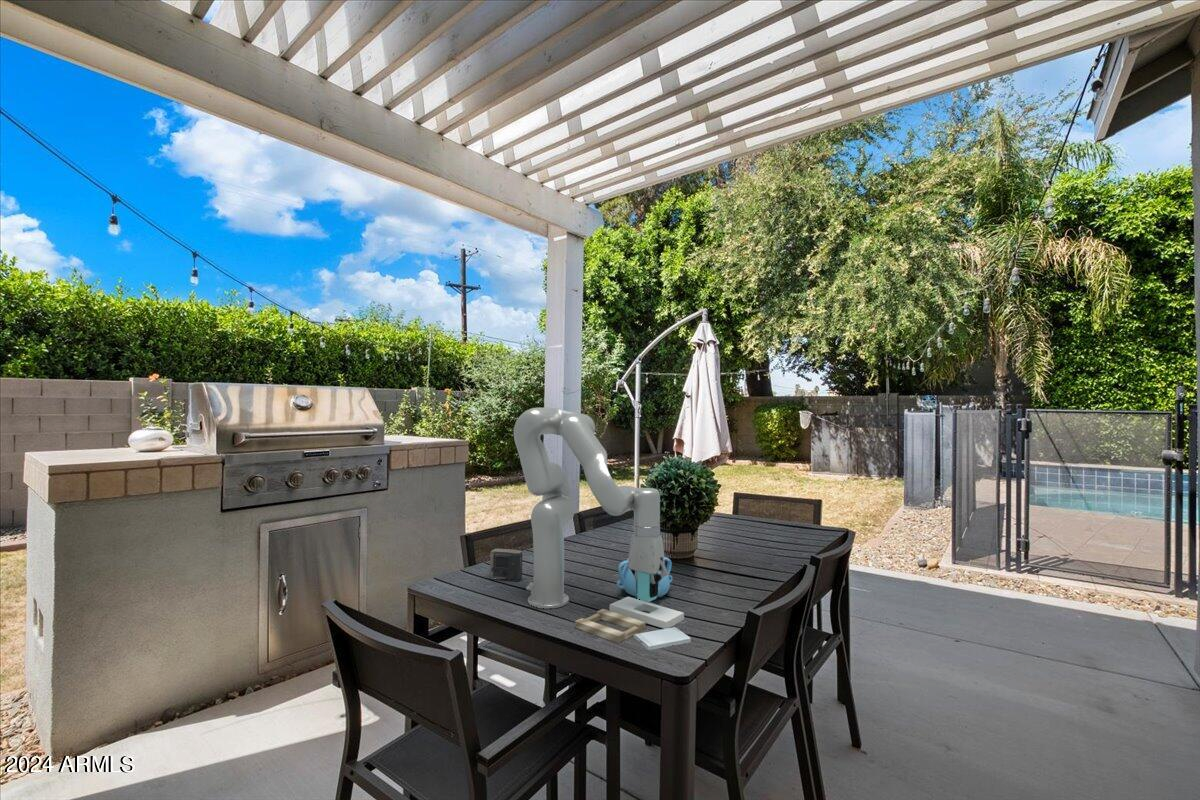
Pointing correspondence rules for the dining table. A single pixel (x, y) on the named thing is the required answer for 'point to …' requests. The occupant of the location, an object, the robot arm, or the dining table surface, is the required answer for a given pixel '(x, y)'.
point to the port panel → (657, 616)
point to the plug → (644, 586)
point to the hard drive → (662, 638)
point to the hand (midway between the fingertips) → (647, 593)
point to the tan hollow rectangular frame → (609, 633)
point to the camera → (506, 564)
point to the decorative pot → (630, 582)
